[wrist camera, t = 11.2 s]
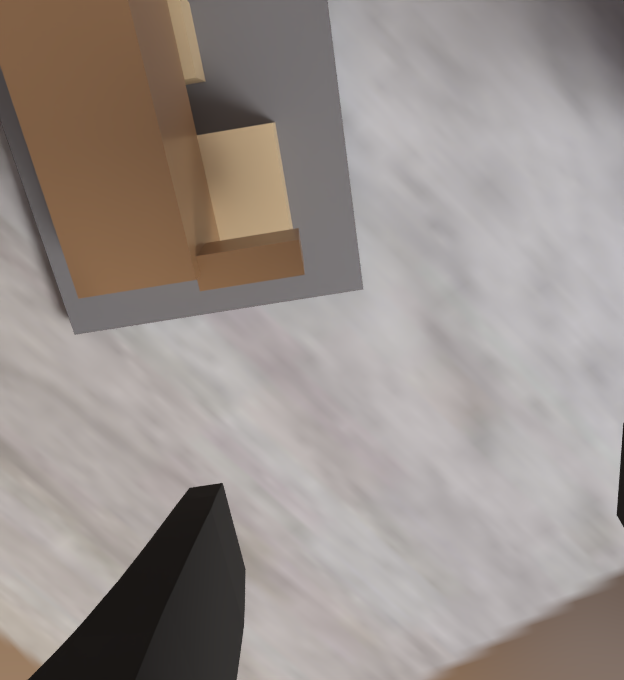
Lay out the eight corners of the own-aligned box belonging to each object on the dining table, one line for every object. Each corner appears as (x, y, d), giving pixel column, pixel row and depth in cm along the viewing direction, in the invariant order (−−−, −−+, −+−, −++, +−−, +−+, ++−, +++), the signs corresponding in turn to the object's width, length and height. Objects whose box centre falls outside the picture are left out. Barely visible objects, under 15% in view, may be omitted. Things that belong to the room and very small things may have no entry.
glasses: (209, -330, 11) (165, -561, 7) (302, 242, 15) (305, 280, 12) (-26, -284, 11) (-186, -486, 7) (133, 269, 16) (83, 315, 12)
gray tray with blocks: (280, -353, 13) (277, -481, 10) (360, 282, 19) (371, 310, 16) (-121, -275, 13) (-230, -379, 11) (83, 326, 19) (47, 360, 17)
